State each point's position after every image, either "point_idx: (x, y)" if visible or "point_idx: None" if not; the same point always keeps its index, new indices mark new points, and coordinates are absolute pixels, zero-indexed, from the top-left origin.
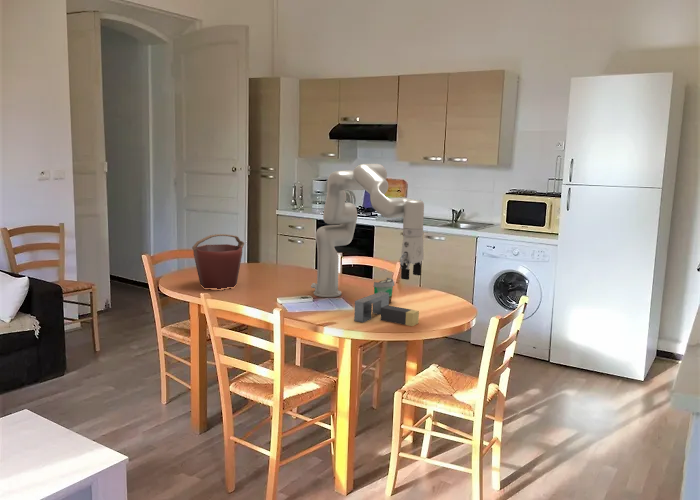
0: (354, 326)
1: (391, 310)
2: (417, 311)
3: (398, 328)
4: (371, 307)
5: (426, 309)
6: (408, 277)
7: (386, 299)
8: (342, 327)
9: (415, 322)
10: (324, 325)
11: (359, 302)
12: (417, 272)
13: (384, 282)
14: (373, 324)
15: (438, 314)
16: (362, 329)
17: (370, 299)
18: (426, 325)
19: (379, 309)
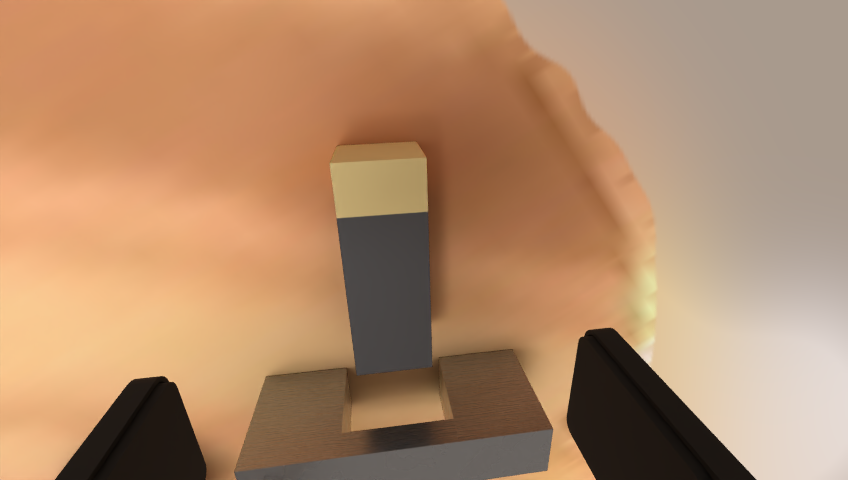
0: None
1: (430, 304)
2: (353, 162)
3: (501, 180)
4: (451, 402)
5: (19, 268)
6: (630, 348)
7: (277, 434)
8: None
9: (378, 145)
10: None
11: (548, 445)
12: (164, 453)
13: None
14: (509, 305)
15: (40, 147)
16: (606, 294)
17: (466, 444)
18: (341, 79)
19: (345, 395)
